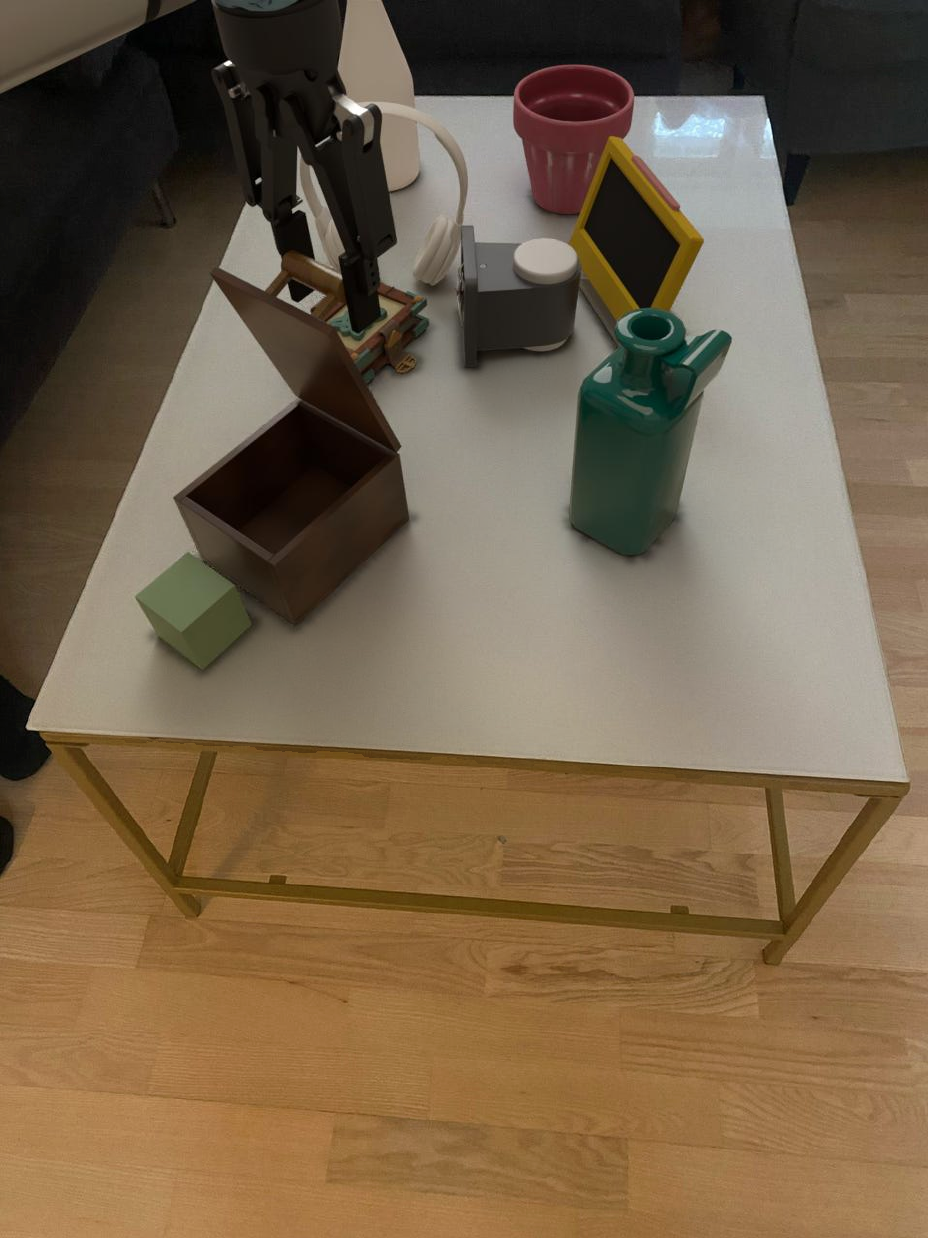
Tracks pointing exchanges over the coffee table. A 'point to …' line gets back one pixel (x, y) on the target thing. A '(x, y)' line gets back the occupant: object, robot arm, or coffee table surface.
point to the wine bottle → (381, 84)
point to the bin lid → (309, 344)
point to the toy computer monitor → (631, 238)
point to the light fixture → (516, 294)
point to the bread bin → (295, 508)
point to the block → (194, 610)
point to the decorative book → (382, 331)
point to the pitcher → (640, 428)
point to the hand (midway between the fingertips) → (335, 307)
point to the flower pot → (569, 129)
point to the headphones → (442, 233)
